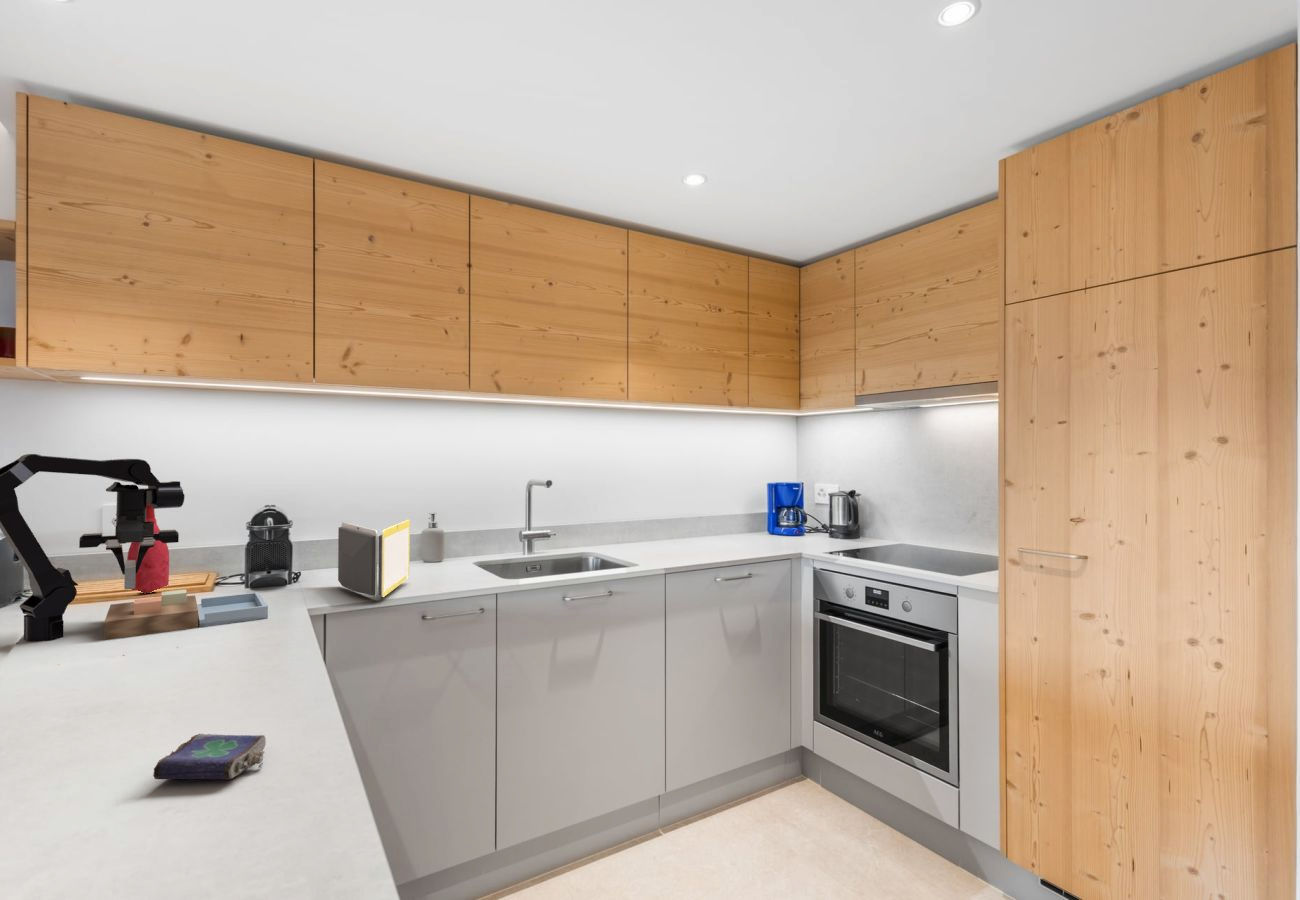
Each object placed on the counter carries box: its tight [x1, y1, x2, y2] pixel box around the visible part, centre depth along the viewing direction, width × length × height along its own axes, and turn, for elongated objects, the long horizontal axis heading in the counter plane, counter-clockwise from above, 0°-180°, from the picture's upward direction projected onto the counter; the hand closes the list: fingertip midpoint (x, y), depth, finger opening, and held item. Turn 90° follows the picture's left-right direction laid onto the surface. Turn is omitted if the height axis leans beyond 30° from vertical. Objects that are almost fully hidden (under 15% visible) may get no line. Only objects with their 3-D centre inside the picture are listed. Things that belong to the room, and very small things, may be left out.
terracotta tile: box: [133, 596, 161, 615], centre depth 153 cm, size 5×5×2 cm
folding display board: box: [337, 519, 411, 598], centre depth 201 cm, size 35×22×20 cm, turn 44°
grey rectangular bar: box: [123, 559, 136, 590], centre depth 158 cm, size 2×14×5 cm, turn 38°
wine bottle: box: [126, 502, 170, 595], centre depth 192 cm, size 10×10×30 cm
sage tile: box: [160, 588, 188, 606], centre depth 161 cm, size 5×5×2 cm
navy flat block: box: [152, 733, 267, 780], centre depth 84 cm, size 9×3×11 cm
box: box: [197, 591, 269, 628], centre depth 165 cm, size 14×20×3 cm
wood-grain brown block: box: [103, 595, 199, 641], centre depth 156 cm, size 17×20×4 cm
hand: (130, 573), depth 158 cm, fingers closed on grey rectangular bar, 2 cm apart
